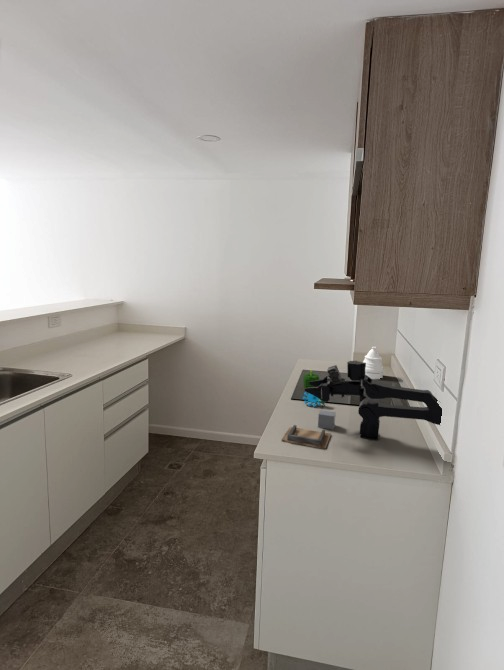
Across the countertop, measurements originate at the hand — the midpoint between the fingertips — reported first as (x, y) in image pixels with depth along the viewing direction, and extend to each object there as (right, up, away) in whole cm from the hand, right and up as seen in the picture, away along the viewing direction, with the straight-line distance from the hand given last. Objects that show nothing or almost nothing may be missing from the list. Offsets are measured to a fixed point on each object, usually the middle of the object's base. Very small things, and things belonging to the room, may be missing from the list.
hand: (307, 386), depth 167 cm
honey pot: (+48, -4, +82) cm, 96 cm away
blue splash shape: (+7, -12, +27) cm, 31 cm away
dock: (-2, -18, -10) cm, 21 cm away
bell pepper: (+8, -8, +51) cm, 52 cm away
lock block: (+8, -16, +3) cm, 18 cm away
